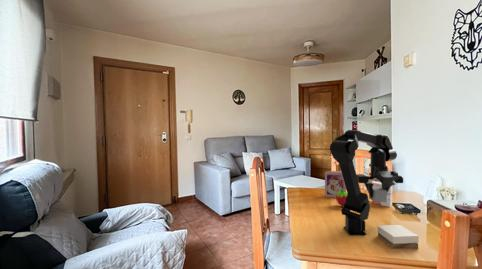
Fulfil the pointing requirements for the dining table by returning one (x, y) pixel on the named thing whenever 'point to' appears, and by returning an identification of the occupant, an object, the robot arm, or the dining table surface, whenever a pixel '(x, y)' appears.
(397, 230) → the tower top
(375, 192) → the slate cube
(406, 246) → the tower bottom
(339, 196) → the strawberry
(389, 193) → the ink cartridge box
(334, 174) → the pink snowman box
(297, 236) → the dining table surface
